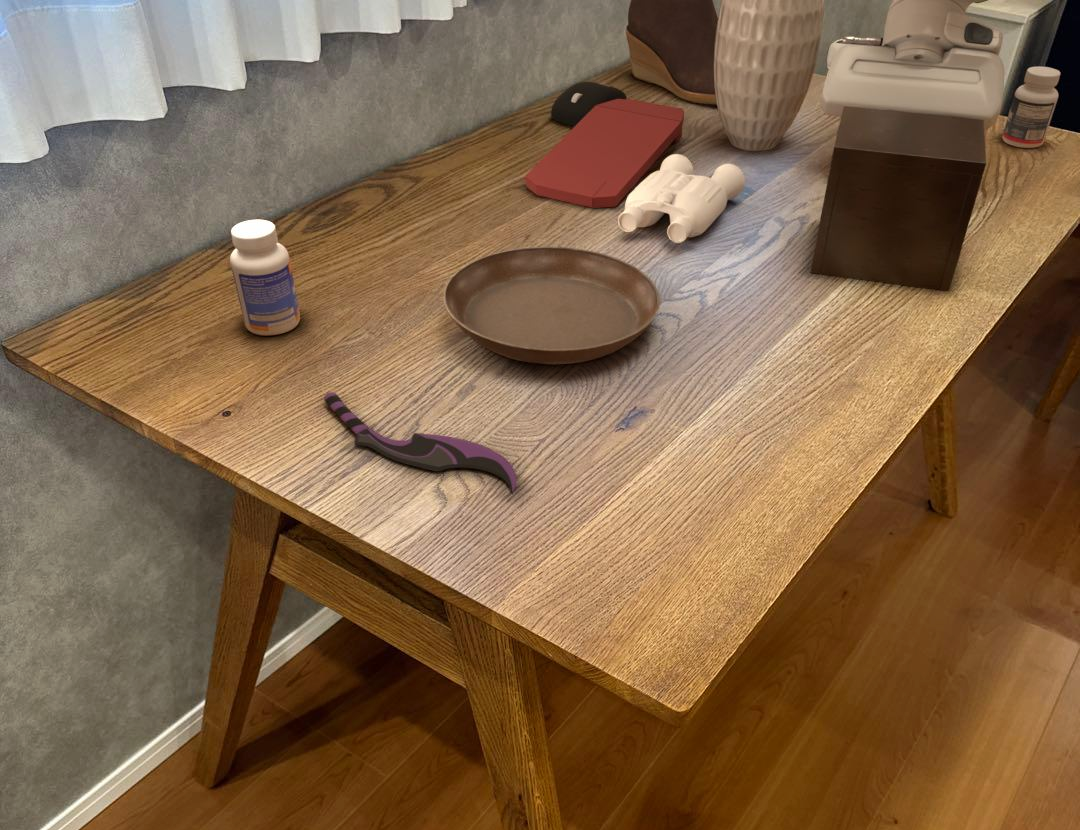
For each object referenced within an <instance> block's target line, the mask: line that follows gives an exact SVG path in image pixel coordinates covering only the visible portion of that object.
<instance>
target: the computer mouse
mask: <svg viewBox="0 0 1080 830" xmlns="http://www.w3.org/2000/svg"><path fill="white" fill-rule="evenodd" d="M615 99H624V100H625V99H628V97H627V95H626V93H625V92H624V91H622V90H621V89H619V88H617V87H615V86H612V85H608V84H605V83H600V82H595V81H581V82H580V81H579V82H577V83H574V84H572V85H570V86H569V87H568V88H566V89H565V90H564V91H563V92H561V93H560V94H559V96H558V97H556V99H555V101H554V102H553V104H552V106H551V110H550V117H551V119H552V120H554V121H556V122H558V123H561V124H564V125H567V126H570V127H573V128H574V127H575V126H576V125H577V124H578V123H579V122H580V121H581V120H582V119H583V118H584V117H585V116H586V115H587V114H588V113H589V112H590V111H591V110H592V109H593V108H594V107H595V106H596V105H598V104H602V103H605V102H608V101H612V100H615Z"/></svg>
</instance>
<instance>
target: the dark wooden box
mask: <svg viewBox="0 0 1080 830" xmlns="http://www.w3.org/2000/svg"><path fill="white" fill-rule="evenodd" d="M837 129H838V130H837V134H836V138H835V141H834V145H833V151H832V155H831V161H830V166H829V171H828V176H827V183H826V187H825V192H824V198H823V202H822V207H821V208H822V209H821V214H820V219H819V224H818V230H817V234H816V240H815V245H814V251H813V256H812V261H811V265H810V271H809V272H810V273H811V274H818V275H825V276H833V277H839V278H840V277H841V278H847V279H854V280H855V279H856V280H863V281H870V282H876V283H877V282H878V283H884V284H892V285H900V286H907V287H915V288H922V289H929V290H938V291H945V292H949V291H950V289H951V286H952V284H953V283H952V282H953V279H954V276H955V273H956V270H957V266H958V262H959V259H960V255H961V252H962V249H963V245H964V242H965V238H966V235H967V232H968V228H969V224H970V221H971V218H972V215H973V211H974V207H975V204H976V200H977V197H978V194H979V190H980V187H981V184H982V180H983V177H984V173H985V170H986V167H987V151H986V150H987V149H986V148H987V147H986V131H985V128H984V120H980V119H970V118H960V117H950V116H940V115H929V114H919V113H909V112H899V111H889V110H878V109H868V108H858V107H848V106H844V108H843V112H842V116H840V121H839V125H838V128H837Z"/></svg>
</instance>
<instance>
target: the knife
mask: <svg viewBox="0 0 1080 830" xmlns="http://www.w3.org/2000/svg"><path fill="white" fill-rule="evenodd" d="M323 400H324V402H325V404H326V405H327V406H328V407H329V408H330V409H331V410H332V411H333V412H334V413H335V415H337V417H339V419H341V420H342V422H343V423H344V424H345V425H346V426H347V427H348V428H349V429H350V431H352V432H353V433H354V434H355V440H354V444H353V446H362V447H363V446H364V447H369V448H371V449H373V450H375V451H376V452H378V453H380V454H381V455H383V456H385V457H387V458H389V459H391V460H394V461H396V462H399V463H402V464H405V465H409V466H412V467H417V468H419V469H421V468H422V469H425V470H430V471H434V472H440V471H444V470H447V469H448V470H449V469H456V468H466V469H467V468H469V469H475V470H480V471H485V472H489V473H491V474H494V475H495V476H498V477H499V478H501V479H502V480H503V481H505V483H506V484H507V485H508V487H509V488H510V491H511V493H514V491H515V489H516V487H517V484H518V479H517V474H516V471H515V469H514V467H513V465H512V464H511V463H510V462H509V460H507V459H506V457H504V456H503V455H502V454H500V453H499V452H497V451H495V450H493V449H491V448H489V447H488V446H485V445H482V444H481V443H480V444H479V443H477V442H474V441H470V440H465V439H463V438H458V437H454V436H448V435H439V434H431V433H421V432H420V433H419V432H414V433H413V434H412V436H411V437H410V438H409V439H405V440H397V439H392V438H388V437H386V436H384V435H382V434H380V433H379V432H377V431H376V430H375V429H374V428H370V427H369V426H368V425H367V424H366V423H365V422H364V421H362V420H361V419H360V418H359V417H358V416H356V414H355V413H353V412H352V410H351V409H349V407H348V406H347V405H346V404H345V403H344V401H343V400H342V399H341V398H340V396H339V395H338V394H337V393H335V392H333V391H330V392H328V393H325V395H324V396H323Z"/></svg>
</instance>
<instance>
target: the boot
mask: <svg viewBox="0 0 1080 830" xmlns="http://www.w3.org/2000/svg"><path fill="white" fill-rule="evenodd" d="M627 12H628V13H627V23H628V24H627V25H626V27H625V36H626V40H627V45H628V50H629V58H630V63H631V70H632V75H633V76H634V78H637V79H638V80H642V81H643V82H647V83H649V84H655V85H657V86H660V87H661V88H664V89H666V90H668V91H670V93H672V94H674V95H675V96H676V97H678V98H680V99H682V100H684V101H687V102H692V103H698V104H703V105H717V101H716V94H715V88H714V48H715V38H716V29H717V22H718V14H717V10H716V7H715V5H714V0H630V3H629V6H628V11H627Z"/></svg>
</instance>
